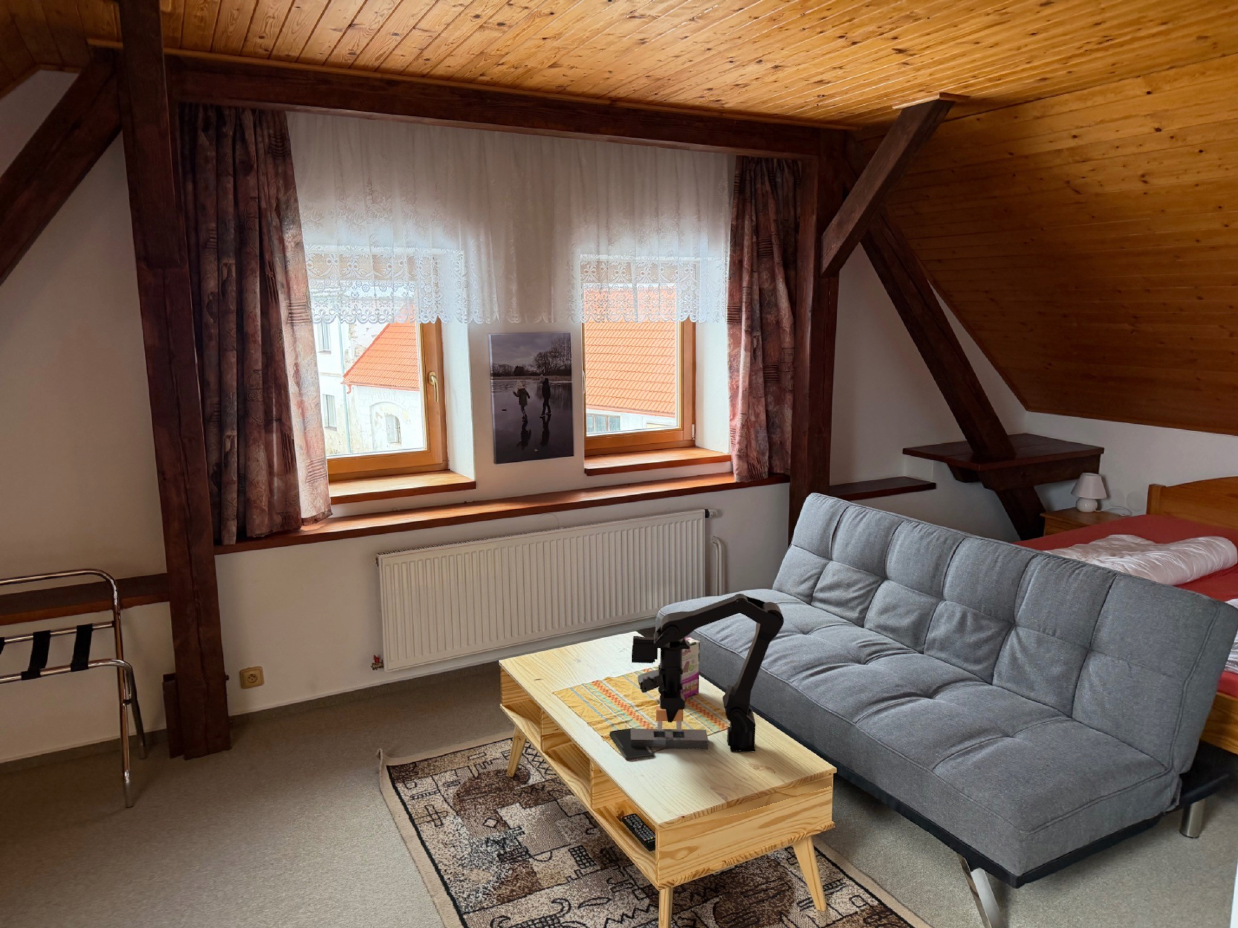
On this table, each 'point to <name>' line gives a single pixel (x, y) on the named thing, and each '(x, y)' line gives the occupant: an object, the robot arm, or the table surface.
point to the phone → (629, 745)
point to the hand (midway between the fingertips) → (669, 719)
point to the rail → (669, 738)
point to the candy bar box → (690, 668)
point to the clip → (662, 716)
